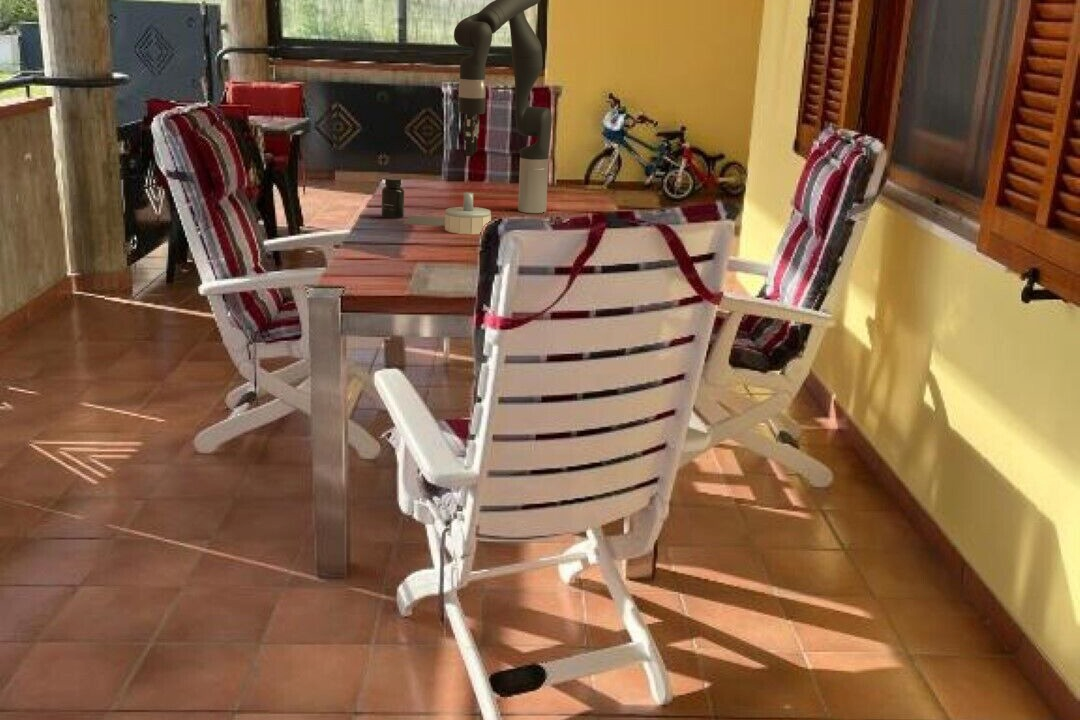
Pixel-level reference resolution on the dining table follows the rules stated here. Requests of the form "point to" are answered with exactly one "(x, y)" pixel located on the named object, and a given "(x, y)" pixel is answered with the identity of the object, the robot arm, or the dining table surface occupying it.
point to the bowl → (465, 224)
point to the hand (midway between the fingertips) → (471, 154)
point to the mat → (425, 221)
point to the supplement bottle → (392, 199)
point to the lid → (468, 209)
